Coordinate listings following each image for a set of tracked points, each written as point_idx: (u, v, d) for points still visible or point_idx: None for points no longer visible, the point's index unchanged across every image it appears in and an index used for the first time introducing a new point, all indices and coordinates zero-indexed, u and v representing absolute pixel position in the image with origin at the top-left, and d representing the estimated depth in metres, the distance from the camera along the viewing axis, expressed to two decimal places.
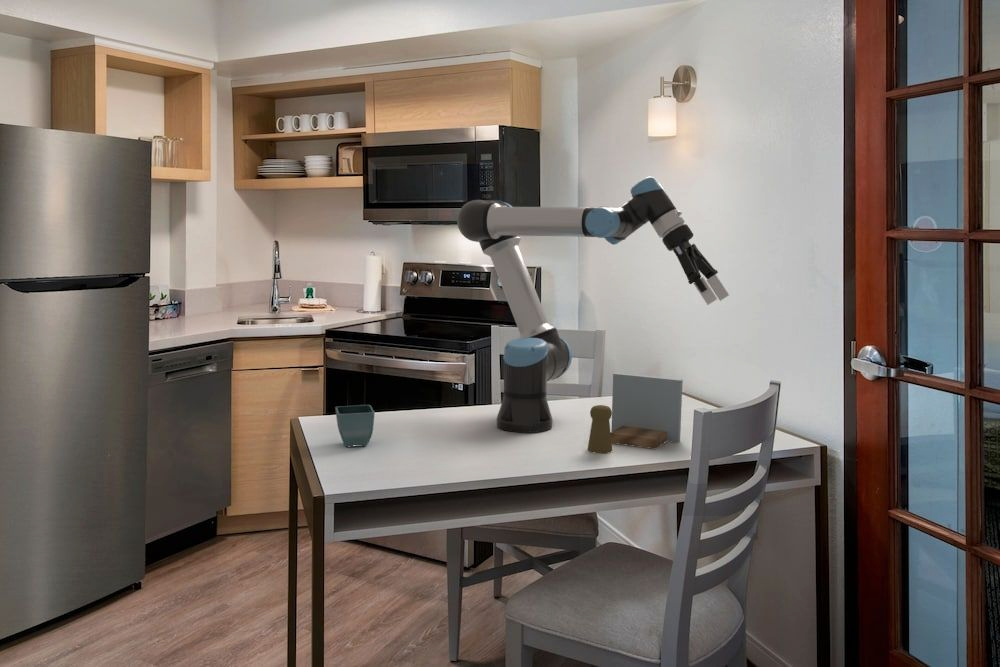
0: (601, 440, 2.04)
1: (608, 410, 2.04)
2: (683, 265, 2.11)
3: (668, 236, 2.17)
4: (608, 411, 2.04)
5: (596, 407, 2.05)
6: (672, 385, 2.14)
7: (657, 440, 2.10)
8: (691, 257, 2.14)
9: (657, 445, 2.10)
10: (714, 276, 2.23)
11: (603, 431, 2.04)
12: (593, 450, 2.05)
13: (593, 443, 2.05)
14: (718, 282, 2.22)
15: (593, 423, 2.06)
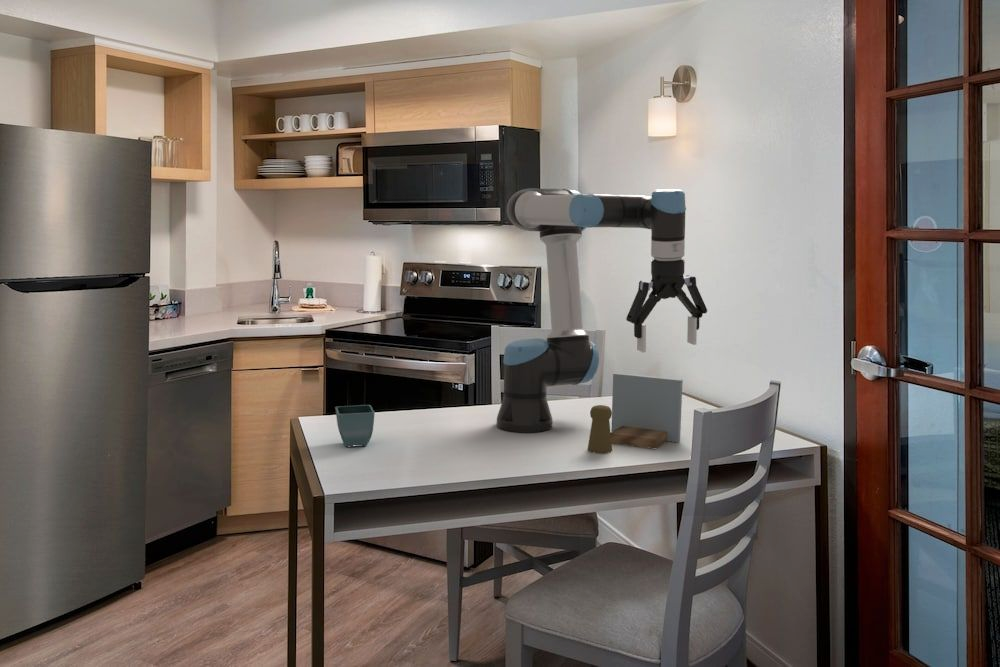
0: (601, 440, 2.04)
1: (608, 410, 2.04)
2: (633, 303, 1.95)
3: (651, 262, 1.95)
4: (608, 411, 2.04)
5: (596, 407, 2.05)
6: (672, 385, 2.14)
7: (657, 440, 2.10)
8: (654, 298, 1.95)
9: (657, 445, 2.10)
10: (693, 319, 2.00)
11: (603, 431, 2.04)
12: (593, 450, 2.05)
13: (593, 443, 2.05)
14: (692, 327, 2.00)
15: (593, 423, 2.06)
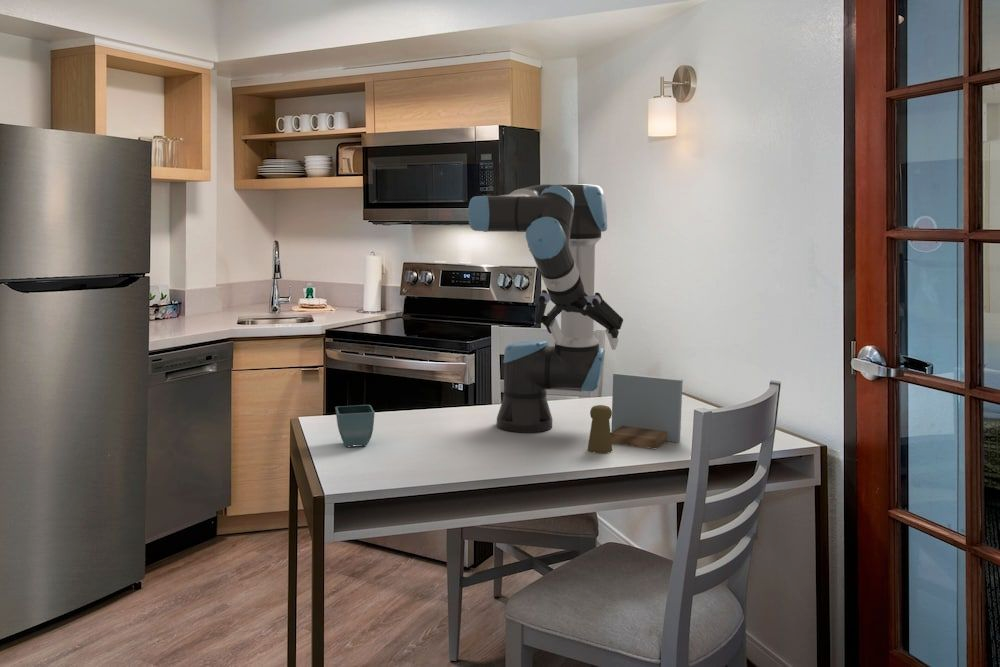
0: (601, 440, 2.04)
1: (608, 410, 2.04)
2: None
3: None
4: (608, 411, 2.04)
5: (596, 407, 2.05)
6: (672, 385, 2.14)
7: (657, 440, 2.10)
8: (554, 309, 1.87)
9: (657, 445, 2.10)
10: None
11: (603, 431, 2.04)
12: (593, 450, 2.05)
13: (593, 443, 2.05)
14: None
15: (593, 423, 2.06)
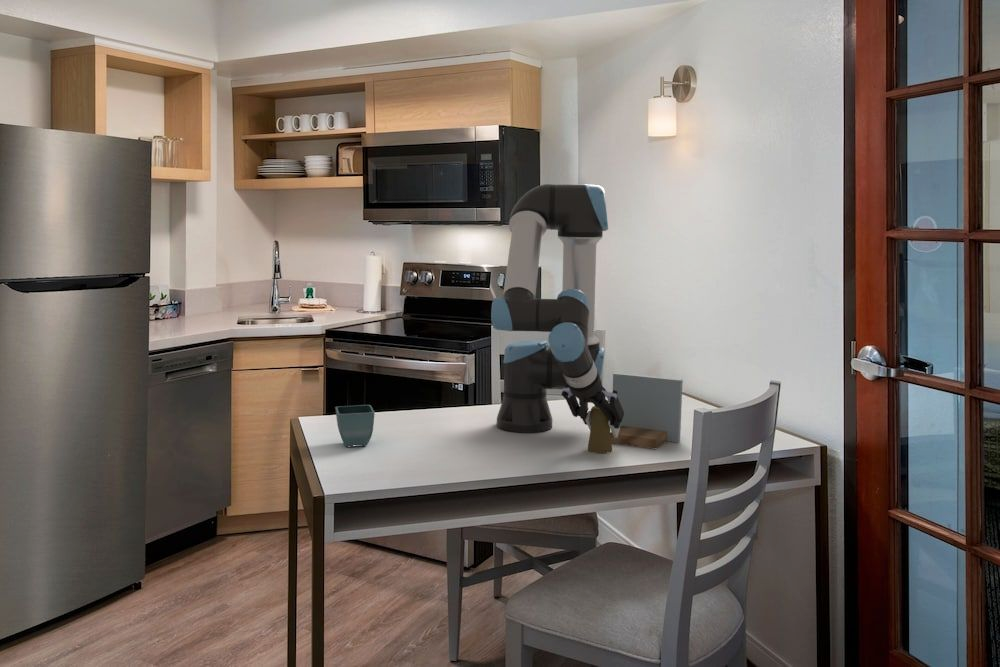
0: (601, 440, 2.04)
1: None
2: None
3: None
4: None
5: (596, 407, 2.05)
6: (672, 385, 2.14)
7: (657, 440, 2.10)
8: None
9: (657, 445, 2.10)
10: None
11: (603, 431, 2.04)
12: (593, 450, 2.05)
13: (593, 443, 2.05)
14: None
15: (593, 423, 2.06)
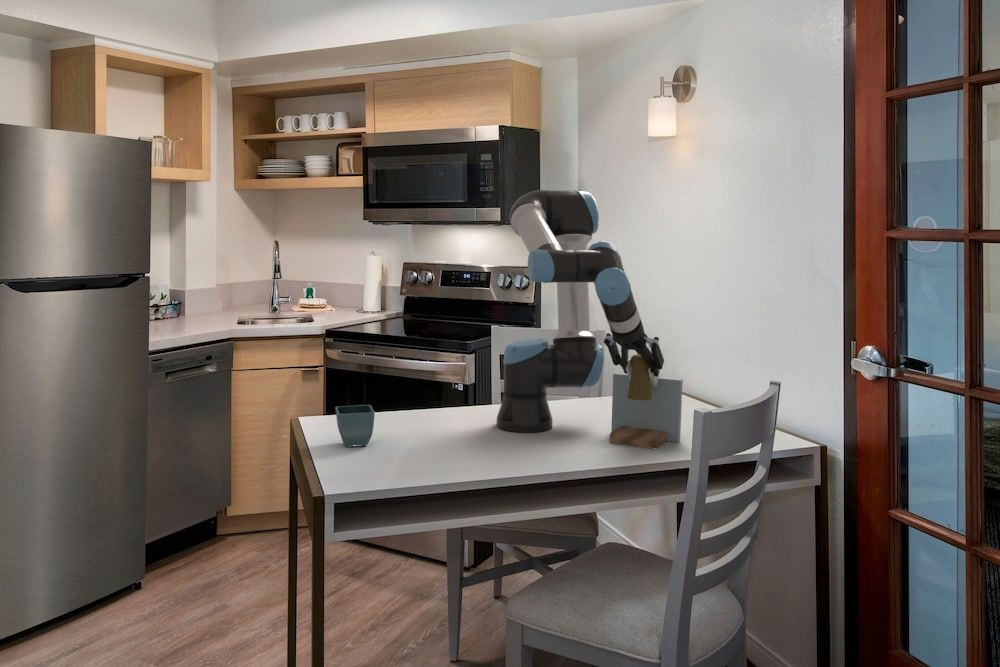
0: (641, 387, 2.11)
1: None
2: None
3: None
4: None
5: (636, 355, 2.12)
6: (672, 385, 2.14)
7: (657, 440, 2.10)
8: None
9: (657, 445, 2.10)
10: None
11: (643, 379, 2.11)
12: (633, 397, 2.11)
13: (633, 391, 2.12)
14: None
15: (633, 371, 2.12)
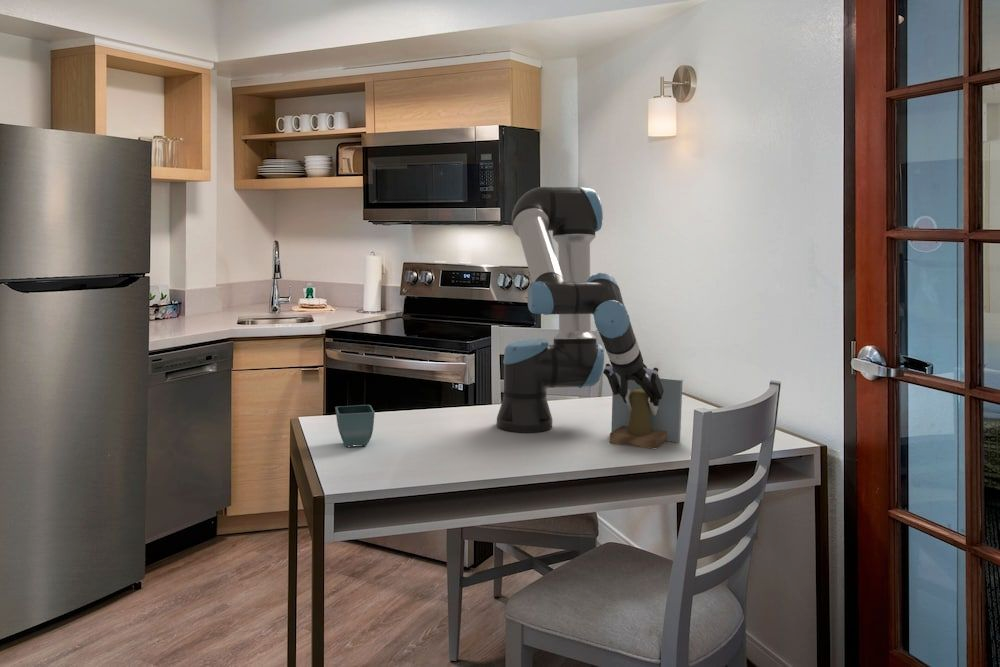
0: (642, 422, 2.12)
1: None
2: None
3: None
4: None
5: (637, 391, 2.13)
6: (672, 385, 2.14)
7: (657, 440, 2.10)
8: None
9: (657, 445, 2.10)
10: None
11: (643, 414, 2.12)
12: (634, 432, 2.13)
13: (633, 426, 2.13)
14: None
15: (634, 406, 2.13)
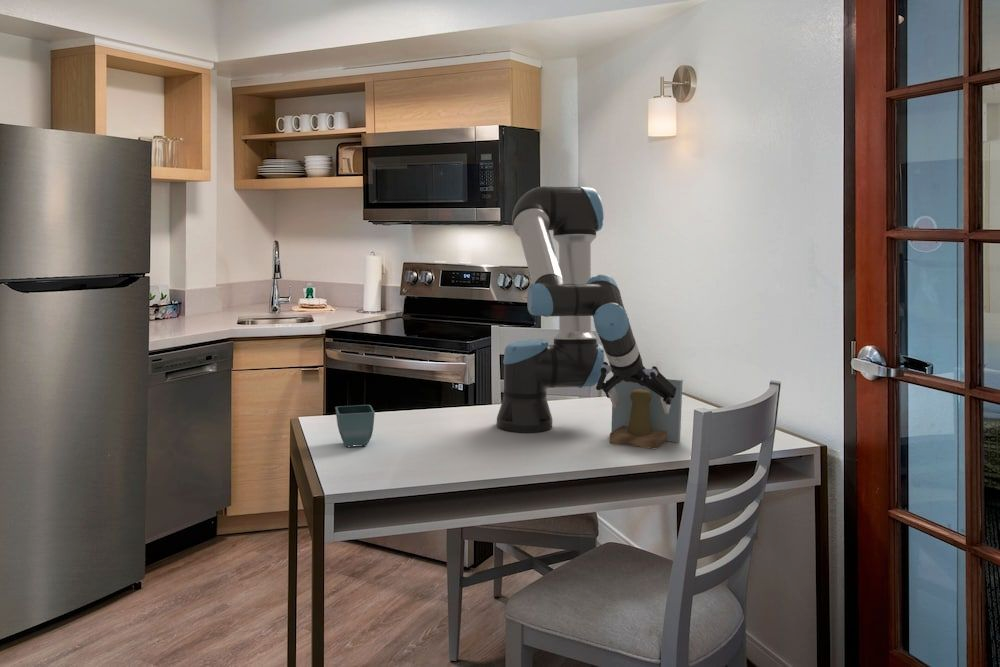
0: (642, 422, 2.12)
1: (648, 393, 2.12)
2: None
3: None
4: (649, 394, 2.12)
5: (637, 391, 2.13)
6: None
7: (657, 440, 2.10)
8: (614, 379, 2.08)
9: (657, 445, 2.10)
10: None
11: (643, 414, 2.12)
12: (634, 432, 2.13)
13: (633, 426, 2.13)
14: None
15: (634, 406, 2.13)
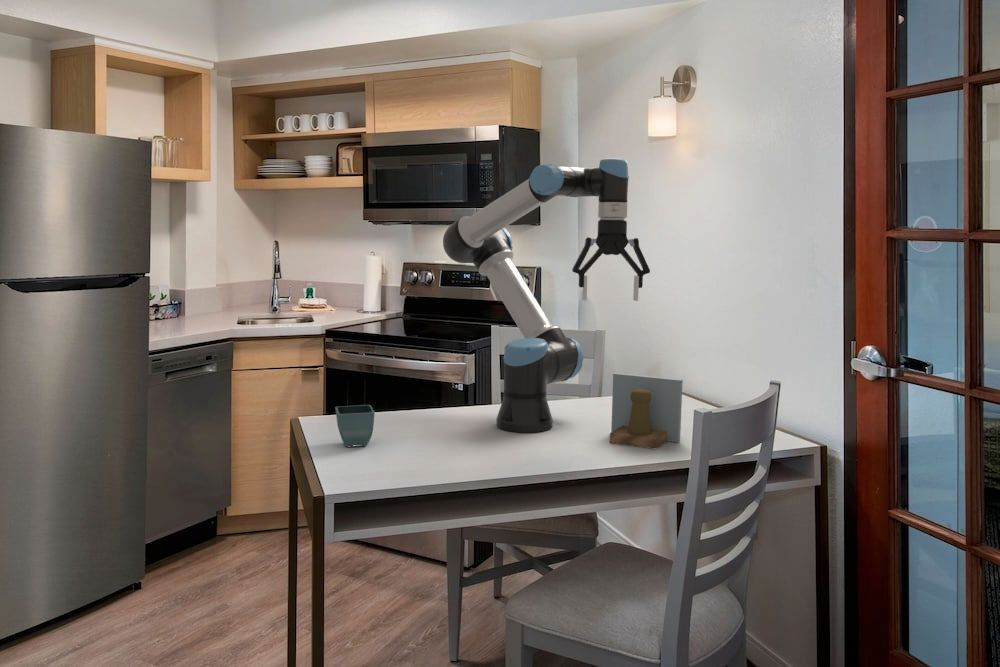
0: (642, 422, 2.12)
1: (648, 393, 2.12)
2: (579, 256, 2.24)
3: None
4: (649, 394, 2.12)
5: (637, 391, 2.13)
6: (672, 385, 2.14)
7: (657, 440, 2.10)
8: (596, 252, 2.22)
9: (657, 445, 2.10)
10: (635, 277, 2.23)
11: (643, 414, 2.12)
12: (634, 432, 2.13)
13: (633, 426, 2.13)
14: (635, 284, 2.24)
15: (634, 406, 2.13)
